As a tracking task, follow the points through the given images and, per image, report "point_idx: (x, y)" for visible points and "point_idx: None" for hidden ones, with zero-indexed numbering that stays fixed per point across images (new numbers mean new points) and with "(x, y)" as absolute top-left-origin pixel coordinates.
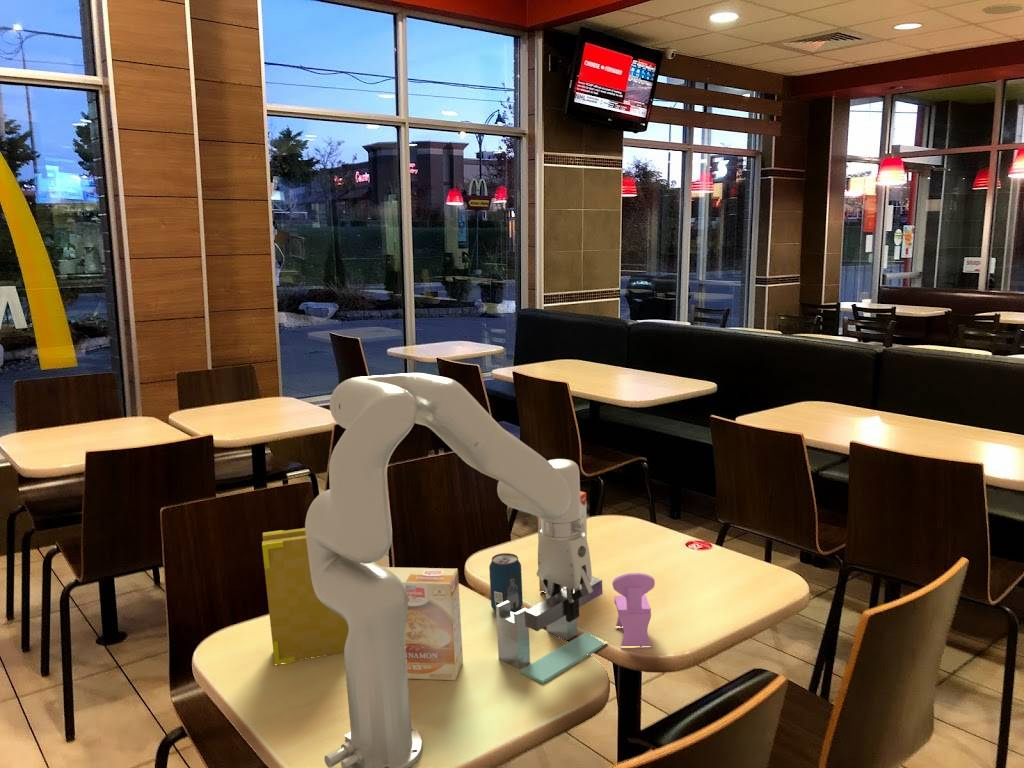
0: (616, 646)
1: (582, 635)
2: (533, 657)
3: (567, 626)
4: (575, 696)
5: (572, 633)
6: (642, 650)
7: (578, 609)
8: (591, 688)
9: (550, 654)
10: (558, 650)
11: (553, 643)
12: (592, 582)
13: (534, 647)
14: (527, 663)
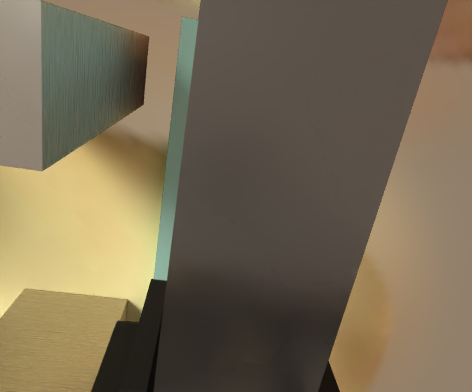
0: None
1: (186, 53)
2: (116, 271)
3: (130, 110)
4: (346, 362)
5: (142, 70)
6: (460, 9)
7: (327, 370)
8: (371, 314)
9: (165, 249)
10: (172, 212)
11: (111, 156)
12: (358, 110)
13: (71, 218)
14: (126, 309)
